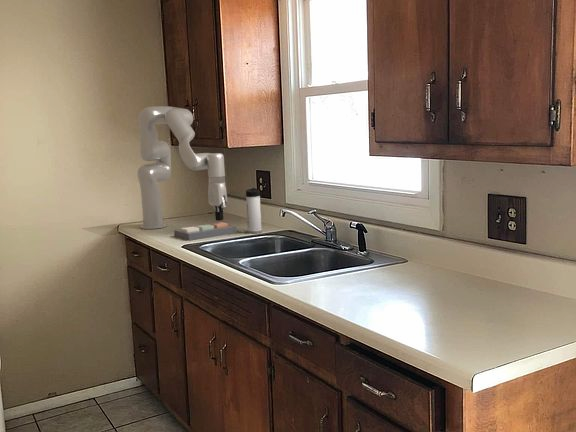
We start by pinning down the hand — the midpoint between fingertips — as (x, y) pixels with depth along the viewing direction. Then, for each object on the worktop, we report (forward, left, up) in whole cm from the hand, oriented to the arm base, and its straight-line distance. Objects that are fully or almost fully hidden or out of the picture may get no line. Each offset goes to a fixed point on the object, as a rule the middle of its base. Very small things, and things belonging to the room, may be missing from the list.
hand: (219, 220), depth 300 cm
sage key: (0, -8, -4) cm, 9 cm away
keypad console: (0, -8, -6) cm, 10 cm away
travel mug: (+12, +11, -6) cm, 17 cm away
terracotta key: (0, 0, -4) cm, 4 cm away
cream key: (0, -15, -4) cm, 16 cm away
